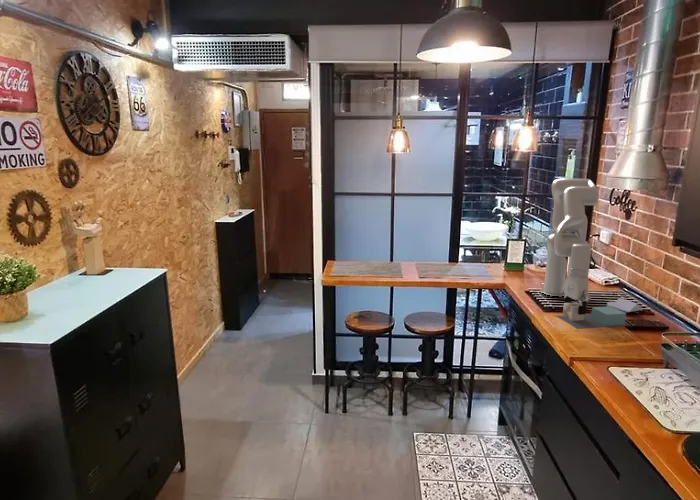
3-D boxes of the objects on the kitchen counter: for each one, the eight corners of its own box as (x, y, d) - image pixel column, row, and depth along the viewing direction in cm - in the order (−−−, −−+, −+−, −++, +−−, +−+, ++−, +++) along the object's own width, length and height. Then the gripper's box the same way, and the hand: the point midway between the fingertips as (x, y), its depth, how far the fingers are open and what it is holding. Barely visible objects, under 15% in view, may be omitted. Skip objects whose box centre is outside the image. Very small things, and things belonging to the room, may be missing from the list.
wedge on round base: (641, 316, 205) (615, 307, 216) (643, 302, 203) (617, 293, 215) (627, 319, 201) (601, 309, 213) (629, 304, 200) (603, 296, 212)
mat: (555, 317, 202) (555, 315, 202) (604, 315, 206) (604, 313, 206) (577, 331, 188) (577, 328, 187) (629, 327, 191) (629, 325, 191)
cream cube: (562, 315, 202) (563, 303, 200) (574, 315, 203) (576, 302, 201) (571, 320, 196) (572, 307, 195) (583, 320, 197) (585, 306, 196)
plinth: (590, 318, 199) (592, 307, 198) (609, 317, 201) (610, 306, 199) (605, 326, 190) (606, 314, 189) (624, 324, 192) (626, 313, 191)
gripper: (558, 267, 203) (554, 304, 206) (583, 277, 186) (579, 317, 189) (573, 267, 204) (569, 304, 207) (600, 277, 187) (595, 316, 190)
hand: (574, 310), depth 198 cm, fingers open, 9 cm apart
